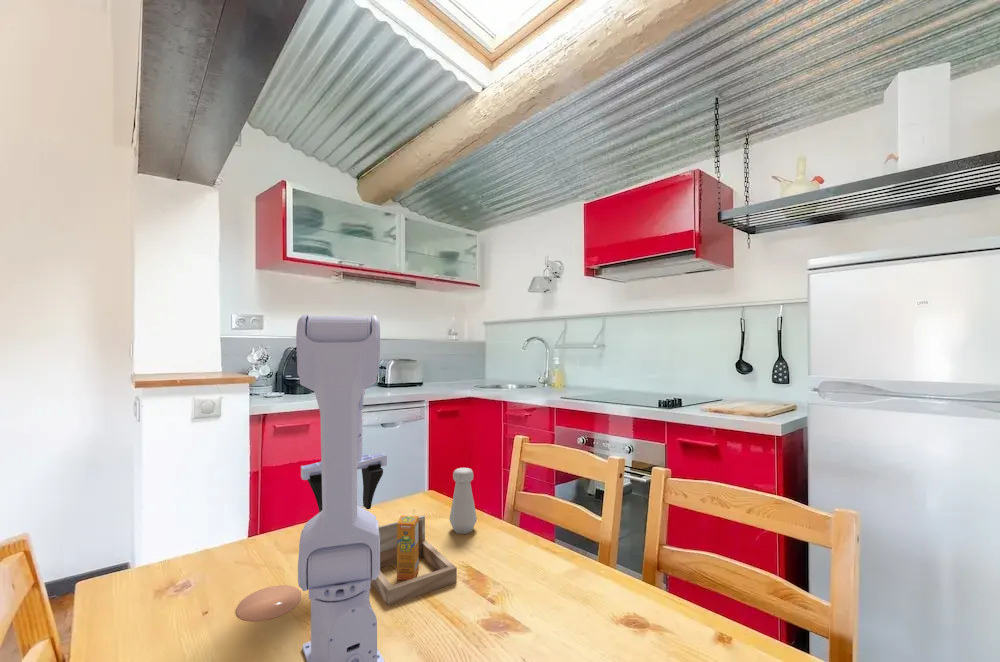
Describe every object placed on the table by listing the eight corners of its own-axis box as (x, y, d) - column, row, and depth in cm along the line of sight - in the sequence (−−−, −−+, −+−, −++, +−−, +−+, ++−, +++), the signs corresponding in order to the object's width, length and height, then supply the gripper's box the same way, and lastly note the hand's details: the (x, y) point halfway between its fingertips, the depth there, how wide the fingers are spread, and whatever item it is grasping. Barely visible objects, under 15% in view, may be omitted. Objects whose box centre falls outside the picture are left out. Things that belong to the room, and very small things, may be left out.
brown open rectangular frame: (456, 582, 77) (456, 540, 77) (388, 606, 70) (388, 561, 70) (423, 551, 87) (423, 515, 87) (361, 570, 81) (361, 530, 81)
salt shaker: (472, 537, 93) (472, 474, 93) (446, 534, 95) (446, 472, 95) (479, 525, 99) (479, 466, 99) (454, 523, 100) (454, 464, 100)
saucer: (306, 609, 69) (306, 605, 69) (238, 631, 64) (238, 627, 64) (295, 582, 77) (295, 579, 77) (233, 600, 72) (233, 597, 72)
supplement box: (395, 581, 77) (395, 522, 77) (401, 570, 80) (400, 514, 80) (414, 581, 77) (414, 522, 77) (419, 571, 80) (419, 514, 80)
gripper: (377, 426, 88) (377, 497, 88) (296, 436, 80) (297, 514, 80) (391, 433, 82) (391, 508, 82) (306, 444, 74) (306, 528, 74)
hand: (345, 512), depth 80 cm, fingers open, 7 cm apart
